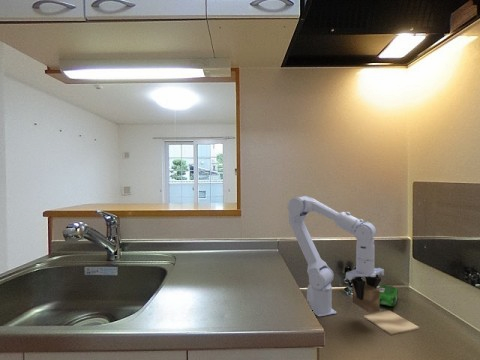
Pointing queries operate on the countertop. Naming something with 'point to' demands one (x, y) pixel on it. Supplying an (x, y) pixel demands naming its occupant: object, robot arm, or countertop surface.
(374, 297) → the slab
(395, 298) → the snack package
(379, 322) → the plate
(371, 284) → the robot arm
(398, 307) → the countertop surface
